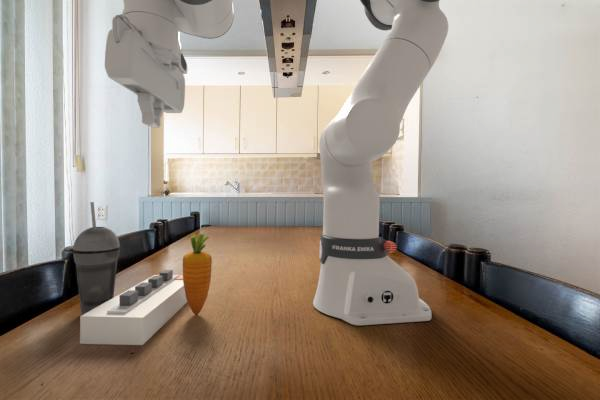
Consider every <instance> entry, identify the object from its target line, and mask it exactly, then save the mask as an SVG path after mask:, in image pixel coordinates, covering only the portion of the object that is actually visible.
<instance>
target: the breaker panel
mask: <svg viewBox="0 0 600 400" xmlns="http://www.w3.org/2000/svg"><path fill="white" fill-rule="evenodd" d="M173 273H174V272H173V269H164V270H162V271H160V272H159V274H154V275H151V276H150V277H148V278H146V279H145V280H142V281H140V282H139V283H137V284H136V285H134V286H132V287H130V288H129V289H127V290H124V291H123V292H121V293H119V294H118V295H115V296H114V297H113V298H112V299H110V300H109V301H107V302H105V303H103V304H101V305H100V306H98V307H96V308H94V309H92V310H91V311H89V312H87V313H85V314H84V315H82V314H81V315H80V317H79V319H80V321H79V324H80V327H79V329H80V330H79V344H80V345H85V344H86V345H113V346H114V345H116V346H118V345H119V346H120V345H121V346H122V345H123V346H127V345H128V346H143V345H145V344H146V342H148V341H149V340H150V339H151V338H152V337H153V336H154V335H155V334H156V333H157V332H158V331H159V330H160V329H161V328H162V327H163V326H165V324H166V323H167V322H169V320H170V319H171V318H173V317H174V315H175V314H177V312H179V311H180V310H181V309H182V308H183V307H184V306H185V305H186V304H187V303H188V301H187V299H186V294H185V289H184V283H183V274H173Z"/></svg>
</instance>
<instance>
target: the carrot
mask: <svg viewBox="0 0 600 400" xmlns="http://www.w3.org/2000/svg"><path fill="white" fill-rule="evenodd" d="M190 236H191V237H190V244H191V247H192V250H193V251H190V252H187V253H186V254H185V255H184V256H183V258H182V275H183V283H184V289H185V294H186V299H187V301H188V302H187V303H188V306H189V308H190V310H191V312H192V313H193V314H194V315H195V316H198V315H199V314H201V311H202V310H203V307H204V306H205V303H206V300H207V298H208V293H209V291H210V290H209V289H210V285H211V281H212V280H211V279H212V268H213V267H212V261H213V260H212V259H213V258H212V255H211V254H210V253H209V252H206V251H203V249H204V248H205V247H206V246H207V244H205V242H206V241H208V240H209V238H210V237H209V236H205V233H203V232H199V235H198V237H197V236H196V234H195V233H192V234H191V235H190Z"/></svg>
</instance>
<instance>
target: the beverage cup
mask: <svg viewBox="0 0 600 400" xmlns="http://www.w3.org/2000/svg"><path fill="white" fill-rule="evenodd" d="M89 204H90V213H91V225H92V226H91V227H89V228H86V229H85V230H83V231H82V232H80V233H79V235H77V237H76V239H75V241H74V243H73V246H72V251H71V253H73V254H72V255H73V260H74V264H75V268H76V269H75V270H76V277H77V278H76V279H77V287H78V289H77V290H78V298H79V307H80V312H81V316H82V315H84V314H85V313H87V312H89V311H91V310H92V309H94V308H96V307H98V306H100V305H101V304H103V303H105V302H107V301H109V300H110V299H112V298H114V297H115V285H116V276H117V269H118V268H117V267H118V260H119V257H120V252H121V251H120V250H121V248H122V247H121V245H120V240H119V238H118V235H117V234H116V233H115V232H114V231H113V230H111V229H110V228H108V227H105V226H97V222H96V221H97V220H96V211H95V202H94V201H91V202H90V203H89Z"/></svg>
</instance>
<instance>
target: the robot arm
mask: <svg viewBox="0 0 600 400" xmlns="http://www.w3.org/2000/svg"><path fill="white" fill-rule="evenodd" d="M359 1H360V3H361V4H362V6H363V10H364V14H365V15H366V18H367V20H368V21H369V23H370V24H371V25H372V26H373V27H374V28H376V29H378V30H379V31H389V33H388V34H387V36H386V37H385V39H384V40H383V42H382V43H381V45H380V47H379V48H378V50H377V51H376V53H375V54H374V55H373V57H372V58H371V60H370V62H369V63H368V65H367V66H366V68H365V69H364V71H363V72H362V74H361V75H360V77H359V79H358V80H357V83H356V85H355V87H353V89H352V92H351V93H350V95H349V97H348V98H347V100H346V102H345V103H344V105H343V106H342V107H341V109H340V110H339V112H338V113H336V115H335V116H334V117H333V118H332V119H331V121H330V122H329V123H328V124H327V125H326V126H325V127H324V129H323V130H322V132H321V134H320V137H319V142H318V143H319V144H318V145H319V155H320V156H319V158H320V172H321V180H322V181H321V182H322V190H323V191H322V192H323V194H322V195H323V196H322V197H323V210H322V212H323V214H322V234H320V240H319V262H320V271H319V276H318V282H317V288H316V291H315V295H314V298H313V302H312V305H313V307H314V308H315V309H316V310H317V311H318V312H320V313H323V314H324V315H328V316H331V317H334V318H336V319H341V320H342V321H344V322H346V323H348V324H350V325H353V326H369V325H385V324H387V325H388V324H399V323H415V322H427V321H428V322H429V321H431V320H432V319H433V318H432V317H433V316H432V310H431V308H430V306H429V304H427V303H426V302H425V301H424V300H422V299H421V298H419V297H420V296H419V291H418V290H419V289H418V286H417V283H416V281H415V279H414V278H413V276H412V275H411V274H409V273H408V272H407V270H405V269H404V268H403V267H401V266H400V265H399V264H398V263H397V262H396V261H394V260H393V259H392V258H391V257H390V256H389V255H388V254H389V253H395V252H396V251H397V248H398V246H397V244H396V243H395V242H393V241H392V240H386V239H384V238H383V237H381V236H379V235H380V206H381V205H380V204H381V203H380V201H381V200H380V195H379V192H378V191H377V188H376V185H375V182H374V181H375V180H374V175H373V170H372V169H373V168H372V162H375V161H377V160H380V158H382V157H384V156H385V155H386V153H388V152H389V151H390V150H391V149H392V148H393V146H394V145H395V144H396V143H397V142H398V141H397V140H398V138H399V135H400V130H401V124H402V120H403V118H404V115H405V113H406V110H407V109H408V106H409V104H410V103H411V101H412V99H413V98H414V96H415V95H416V93H417V92H418V90H419V88H420V86H422V84H423V82H424V81H425V78H426V77H427V76H428V75H429V72H430V71H431V70H432V68H433V66H434V64H435V63H436V61H437V59H438V56H439V55H440V53H441V50H442V48H443V45H444V44H445V41H446V39H447V36H448V32H449V21H448V18H447V16H446V14H445V13H444V12H443V11H442V10H441V8H440V4H439V3H440V0H359ZM234 16H235V15H234V1H233V0H123V10H122V13H120V14H116V15H115V16H113V17H112V21H111V23H112V25H111V26H112V27H111V29H110V30H109V31H108V33H107V36H106V37H107V38H106V43H105V44H106V45H105V52H104V69H105V72H106V74H107V77H108V78H109V79H110V80H113V81H114V82H115V83H117V84H119V85H120V86H122V87H123V88H125V89H127V90H129V91H130V92H132V93H133V94H135V95H137V103H138V106H139V110H140V112H141V122H142V124H144V125H146V126H148V127H150V128H153V129H155V128H156V129H157V128H160V127H161V123H162V122H161V121H162V120H161V118H162V116H163V113H166V114H181V113H182V112H183V111H184V107H185V98H186V97H185V96H186V79H185V74H186V75H187V74H188V63H187V61H186V59H185V56H184V54H183V50H182V44H181V42H180V33H184V34H187V35H189V36H194V37H199V38H203V39H209V40H210V39H218V38H220V37H223V36H224V35H225V34H227V32H228V31H229V30H230V29H231V27H232V26H233V22H234Z"/></svg>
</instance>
